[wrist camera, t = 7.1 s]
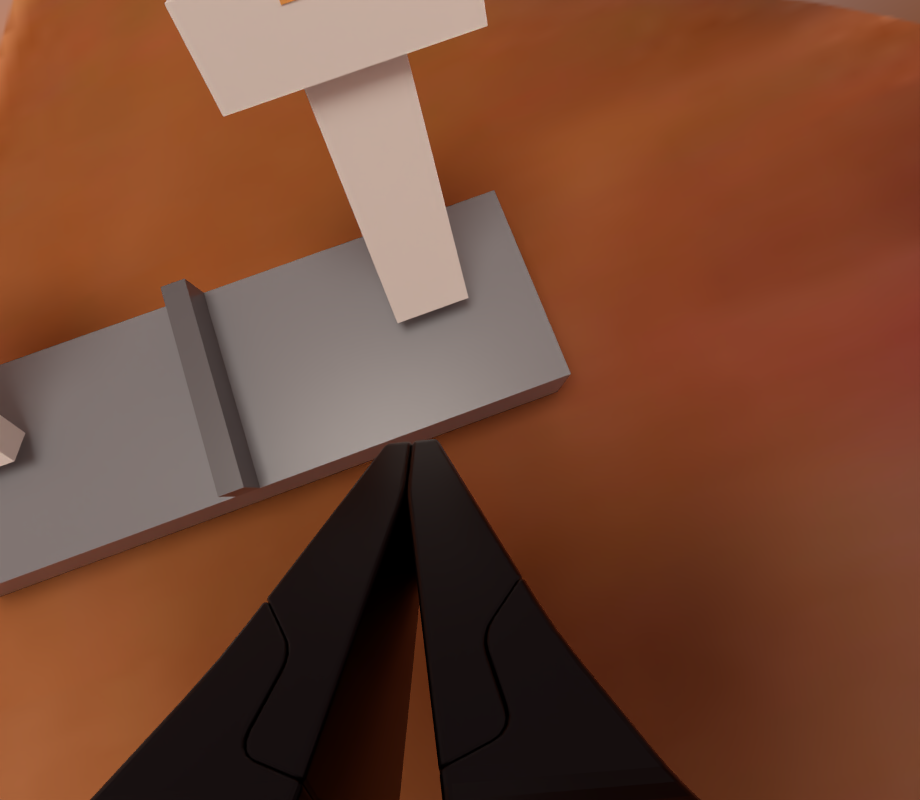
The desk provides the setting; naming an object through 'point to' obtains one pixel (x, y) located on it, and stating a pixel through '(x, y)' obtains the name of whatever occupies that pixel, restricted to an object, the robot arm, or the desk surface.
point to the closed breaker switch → (9, 441)
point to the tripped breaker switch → (350, 113)
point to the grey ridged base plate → (257, 394)
